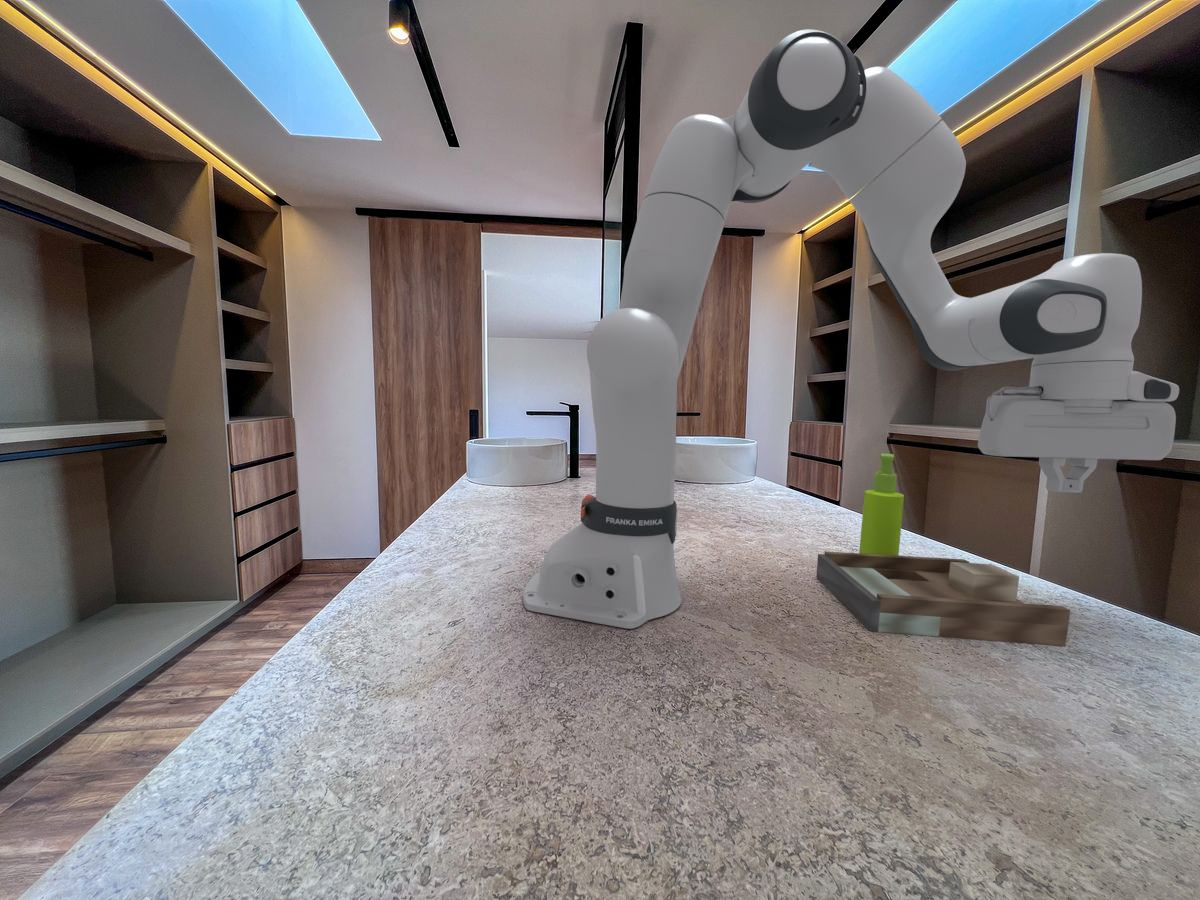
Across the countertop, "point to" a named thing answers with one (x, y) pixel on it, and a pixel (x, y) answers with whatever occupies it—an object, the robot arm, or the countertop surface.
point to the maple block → (983, 581)
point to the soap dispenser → (882, 513)
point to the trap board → (931, 601)
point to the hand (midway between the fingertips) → (1063, 491)
